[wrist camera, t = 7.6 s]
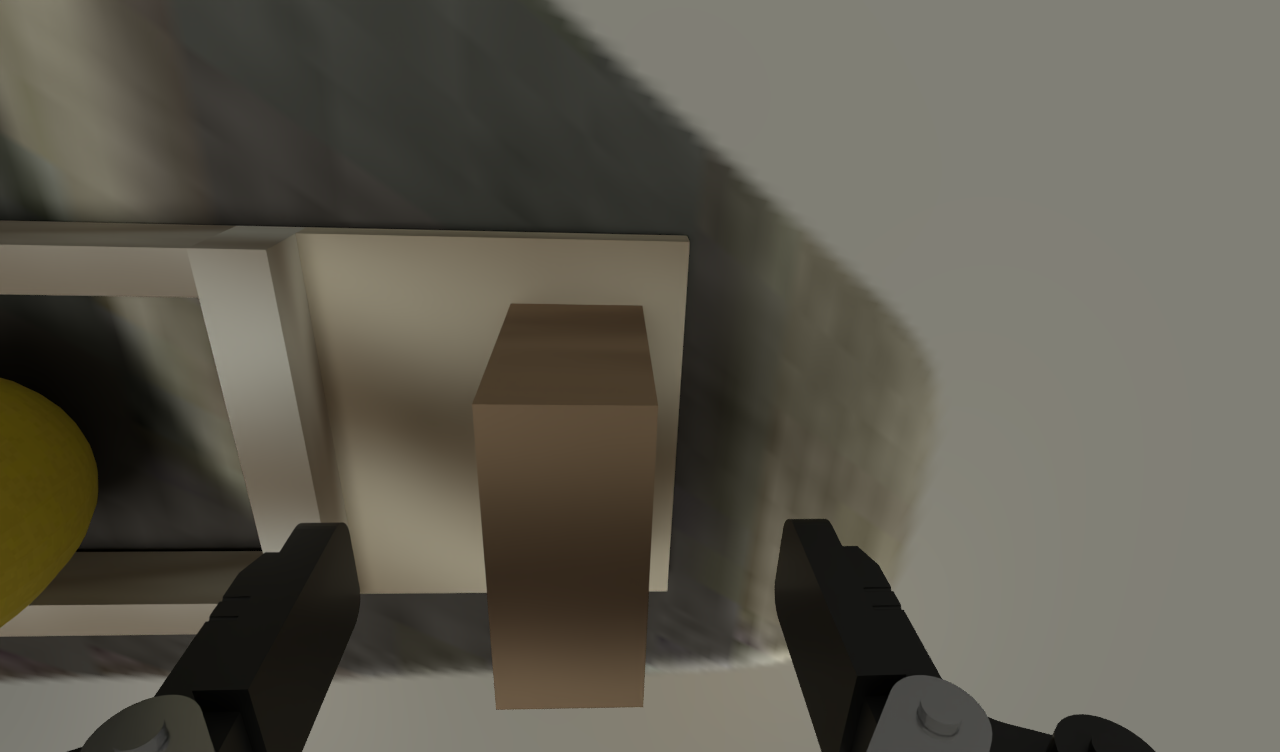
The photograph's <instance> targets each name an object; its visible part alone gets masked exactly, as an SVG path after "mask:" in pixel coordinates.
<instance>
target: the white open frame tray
mask: <svg viewBox="0 0 1280 752" xmlns="http://www.w3.org/2000/svg"><path fill="white" fill-rule="evenodd" d="M689 247H690V241H689V239H688V237H687V236H683V235H638V234H592V233H547V232H502V231H456V230H411V229H366V228H320V227H275V226H230V225H185V224H139V223H94V222H49V221H3V220H0V294H12V295H74V296H136V297H198V298H199V300H200V304H201V308H202V312H203V316H204V320H205V324H206V328H207V332H208V336H209V340H210V344H211V348H212V352H213V356H214V360H215V364H216V368H217V372H218V376H219V380H220V384H221V388H222V392H223V396H224V400H225V404H226V408H227V412H228V416H229V420H230V424H231V428H232V432H233V436H234V440H235V444H236V448H237V452H238V456H239V460H240V464H241V468H242V472H243V476H244V480H245V484H246V488H247V492H248V496H249V500H250V504H251V508H252V512H253V516H254V520H255V524H256V528H257V532H258V535H259V539H260V543H261V547H262V551H184V552H75V553H74V555H73V556H72V558H71V559H70V560H69V561H68V563H67V564H66V565H65V566H64V567H63V569H62V570H61V571H60V572H59V573H58V574H57V576H56V577H55V578H54V579H53V580H52V581H51V583H50V584H49V585H48V586H47V587H46V588H45V590H44V591H43V592H42V593H41V594H40V595H39V596H38V597H37V598H36V599H35V600H34V601H33V602H32V603H31V604H29V605H28V606H27V607H26V608H25V609H24V610H22V611H21V612H20V613H19V614H18V615H17V616H15V617H14V618H13V619H11V620H10V621H9V622H7V623H6V624H5V625H3V626H2V627H1V628H0V636H85V635H171V634H197V633H198V632H199V630H200V629H201V628H202V626H203V625H204V623H205V622H207V621H209V616H210V614H211V613H212V612H213V610H214V609H215V607H216V606H217V604H218V603H219V601H222V600H223V595H224V594H225V593H226V591H227V590H228V588H229V587H230V585H231V584H232V582H233V581H234V579H235V578H236V576H237V575H238V574H239V573H240V572H241V571H242V570H243V569H245V568H246V567H247V566H248V565H250V564H251V563H252V562H254V561H255V560H256V559H257V558H259V557H260V556H261V555H262V554H264V553H265V552H280V550H281V549H282V547H283V546H284V544H285V542H286V541H287V539H288V538H289V536H290V534H291V533H292V531H293V530H294V528H295V527H296V526H297V525H298V524H300V523H330V522H343V523H345V524H346V525H347V526H348V529H349V533H350V538H351V543H352V549H353V554H354V559H355V565H356V570H357V575H358V581H359V586H360V594H393V593H487V600H488V612H489V625H490V638H491V650H492V663H493V675H494V686H495V687H494V688H495V700H496V710H499V709H500V710H505V709H555V708H557V709H559V708H614V707H643V697H644V677H645V658H646V638H647V618H648V598H649V591H667V586H668V570H669V555H670V539H671V524H672V509H673V493H674V478H675V462H676V447H677V431H678V416H679V401H680V385H681V370H682V354H683V339H684V324H685V308H686V293H687V277H688V262H689Z"/></svg>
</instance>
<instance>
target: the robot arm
mask: <svg viewBox="0 0 1280 752" xmlns="http://www.w3.org/2000/svg"><path fill="white" fill-rule="evenodd" d="M775 604H776V611H777V615H778V619H779V622H780V625H781V628H782V631H783V634H784V637H785V640H786V643H787V647H788V650H789V653H790V656H791V659H792V662H793V665H794V668H795V671H796V674H797V677H798V680H799V684H800V687H801V690H802V693H803V696H804V698H805V702H806V705H807V708H808V711H809V714H810V717H811V720H812V723H813V726H814V730H815V733H816V736H817V739H818V742H819V745H820V748H821V751H822V752H1155V751H1154V750H1153V749H1152V748H1151V747H1150V746H1149V745H1148V744H1147V743H1146V742H1144V741H1143V740H1142V739H1141V738H1140V737H1138V736H1137V735H1135V734H1134V733H1132V732H1131V731H1129V730H1128V729H1126V728H1124V727H1122V726H1120V725H1118V724H1116V723H1114V722H1112V721H1110V720H1107V719H1103V718H1101V717H1097V716H1092V715H1084V714H1082V715H1072V716H1068V717H1066V718H1064V719H1062V720H1061V721H1060V722H1059V723H1058V725H1057V727H1056V729H1055V731H1054V733H1053V735H1050V734H1045V733H1042V732H1038V731H1034V730H1030V729H1026V728H1022V727H1018V726H1014V725H1010V724H1006V723H1003V722H1000V721H997V720H994V719H992V718H989V717H987V715H986V713H985V711H984V710H983V709H982V708H981V706H980V705H979V704H978V703H977V702H976V700H975V699H974V698H973V697H971V696H970V695H969V694H968V693H967V692H965V691H964V690H962V689H961V688H959V687H958V686H956V685H954V684H952V683H950V682H948V681H946V680H943V679H942V678H941V677H940V675H939V673H938V671H937V669H936V667H935V666H934V664H933V662H932V660H931V658H930V657H929V655H928V653H927V651H926V650H925V648H924V646H923V644H922V642H921V641H920V639H919V637H918V635H917V633H916V631H915V630H914V628H913V626H912V624H911V622H910V621H909V619H908V617H907V615H906V613H905V612H904V610H901V604H900V603H899V601H898V599H897V597H896V595H895V594H894V592H893V591H891V586H890V584H889V583H888V581H887V579H886V577H885V575H884V574H883V572H882V570H881V568H880V566H879V565H878V564H877V563H876V562H875V561H874V560H872V559H871V558H870V557H869V556H868V555H867V554H866V553H864V552H863V551H862V550H861V549H860V548H859V547H858V546H842V545H841V543H840V541H839V539H838V537H837V535H836V533H835V531H834V529H833V527H832V525H831V523H830V522H829V520H827V519H788V520H786V522H785V524H784V528H783V534H782V540H781V547H780V553H779V560H778V566H777V573H776V579H775ZM359 606H360V586H359V581H358V575H357V570H356V565H355V559H354V554H353V549H352V543H351V538H350V533H349V529H348V526H347V525H346V524H345V523H343V522H330V523H300V524H298V525H297V526H296V527H295V528H294V530H293V531H292V533H291V534H290V536H289V538H288V539H287V541H286V542H285V544H284V546H283V547H282V549H281V550H280V552H265V553H264V554H262V555H261V556H260V557H259V558H257V559H256V560H255V561H254V562H252V563H251V564H250V565H248V566H247V567H246V568H245V569H243V570H242V571H241V572H240V573H239V574H238V575H237V576H236V578H235V579H234V581H233V582H232V584H231V585H230V587H229V588H228V590H227V591H226V593H225V594H224V595H223V600H222V601H219V603H218V604H217V606H216V607H215V609H214V610H213V612H212V613H211V614H210V616H209V621H207V622H205V623H204V625H203V626H202V628H201V629H200V630H199V632H198V633H197V635H196V636H195V638H194V639H193V641H192V642H191V644H190V645H189V647H188V648H187V649H186V651H185V652H184V654H183V655H182V657H181V658H180V660H179V661H178V663H177V664H176V665H175V667H174V668H173V670H172V671H171V673H170V674H169V676H168V677H167V679H166V680H165V682H164V683H163V684H162V686H161V687H160V689H159V690H158V692H157V693H156V695H155V696H154V697H153V698H149V699H146V700H143V701H141V702H138V703H136V704H134V705H131V706H129V707H127V708H125V709H123V710H122V711H120V712H119V713H117V714H115V715H114V716H112V717H111V718H110V719H108V720H107V721H106V722H105V723H103V724H102V725H101V726H100V727H99V728H98V729H97V730H96V731H95V732H94V733H93V734H92V735H91V736H90V737H89V738H88V740H87V741H86V743H85V744H84V746H83V747H81V748H78V749H75V750H71V751H68V752H302V750H303V748H304V746H305V743H306V741H307V738H308V736H309V734H310V731H311V729H312V726H313V724H314V721H315V719H316V717H317V715H318V712H319V710H320V707H321V705H322V703H323V700H324V698H325V696H326V693H327V691H328V688H329V686H330V684H331V681H332V679H333V677H334V674H335V672H336V669H337V667H338V665H339V662H340V660H341V657H342V655H343V653H344V650H345V648H346V646H347V643H348V641H349V638H350V636H351V634H352V631H353V629H354V626H355V624H356V621H357V617H358V613H359Z"/></svg>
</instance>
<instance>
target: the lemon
mask: <svg viewBox="0 0 1280 752" xmlns="http://www.w3.org/2000/svg"><path fill="white" fill-rule="evenodd" d="M97 498H98V471H97V465H96V461H95V458H94V455H93V453H92V450H91V447H90V444H89V443H88V441H87V440H86V438H85V436H84V435H83V433H82V432H81V430H80V429H79V427H78V426H77V424H76V423H75V422H74V421H73V420H72V419H71V418H70V417H69V416H68V415H67V414H66V413H65V412H64V411H63V410H62V409H61V408H60V407H58V406H57V405H56V404H54V403H53V402H51V401H50V400H48V399H47V398H45V397H44V396H43V395H41V394H39V393H37V392H35V391H33V390H31V389H29V388H26V387H24V386H22V385H20V384H18V383H16V382H14V381H10V380H7V379H3V378H0V628H1V627H2V626H3V625H5V624H6V623H7V622H9V621H10V620H11V619H13V618H14V617H15V616H17V615H18V614H19V613H20V612H21V611H22V610H24V609H25V608H26V607H27V606H28V605H29V604H31V603H32V602H33V601H34V600H35V599H36V598H37V597H38V596H39V595H40V594H41V593H42V592H43V591H44V590H45V588H46V587H47V586H48V585H49V584H50V583H51V581H52V580H53V579H54V578H55V577H56V576H57V574H58V573H59V572H60V571H61V570H62V569H63V567H64V566H65V565H66V564H67V563H68V561H69V560H70V559H71V558H72V556H73V555H74V553H75V552H76V550H77V549H78V548H79V546H80V544H81V542H82V540H83V539H84V537H85V535H86V532H87V530H88V527H89V524H90V521H91V518H92V516H93V513H94V510H95V507H96V504H97Z"/></svg>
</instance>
